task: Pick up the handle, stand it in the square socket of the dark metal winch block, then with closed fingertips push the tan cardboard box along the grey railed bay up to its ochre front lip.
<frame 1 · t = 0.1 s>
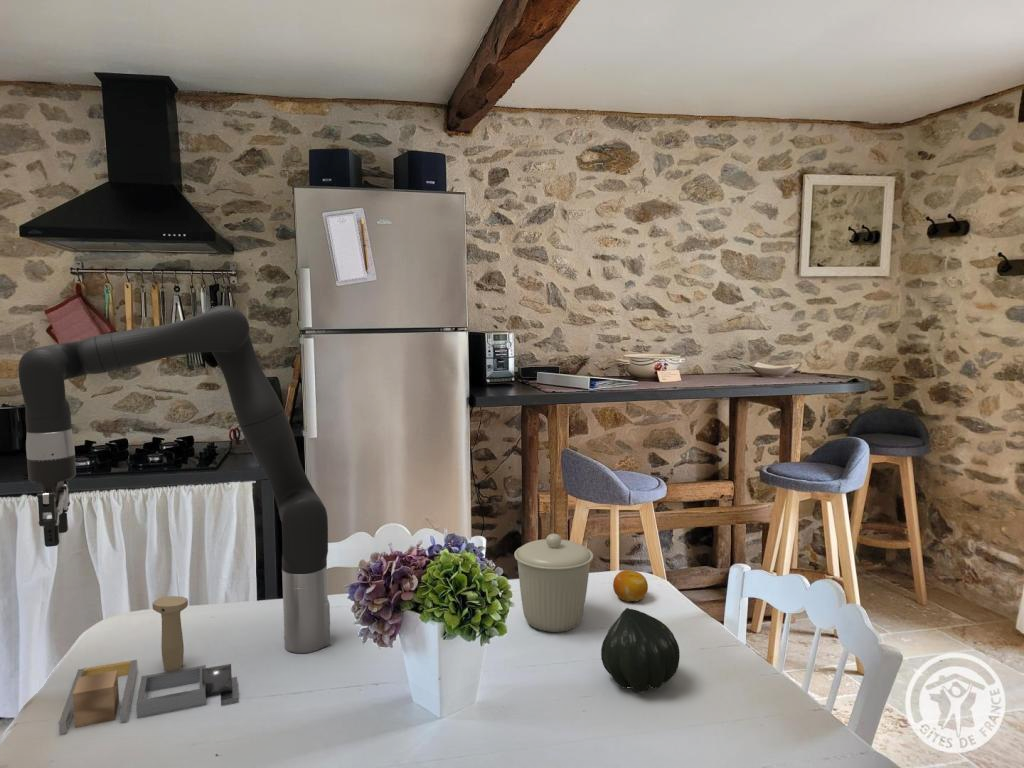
hand: (56, 538, 134), 29 cm above the table, fingers open, 8 cm apart
bay: (102, 706, 130), on the table
canister: (553, 623, 165), on the table
handle: (173, 674, 142), on the table
fruit: (630, 599, 179), on the table
tan cardboard box: (96, 698, 125), point 4 cm above the table, slide at 0.0 cm
winch: (173, 703, 131), on the table
squash: (639, 682, 139), on the table
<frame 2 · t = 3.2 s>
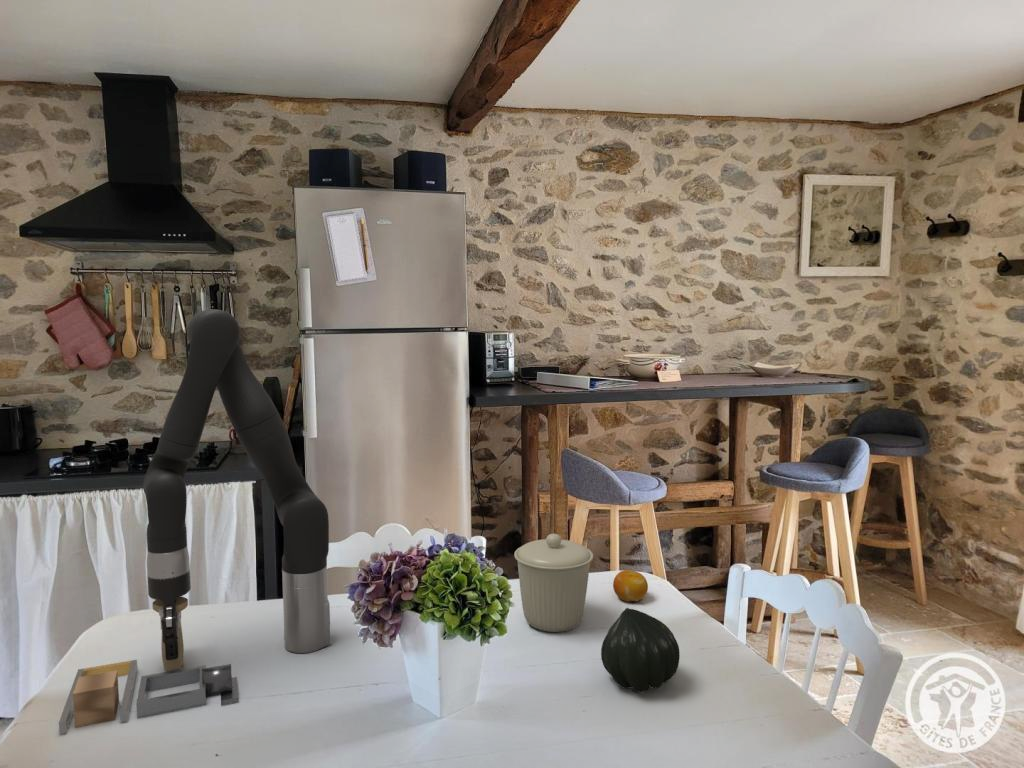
hand: (172, 653, 141), 4 cm above the table, fingers closed on handle, 4 cm apart
handle: (173, 674, 142), on the table, touching gripper
everything else where it was.
when the fingers open (7 cm above the table, at t = 9.0 s): handle drops 2 cm, resting on winch.
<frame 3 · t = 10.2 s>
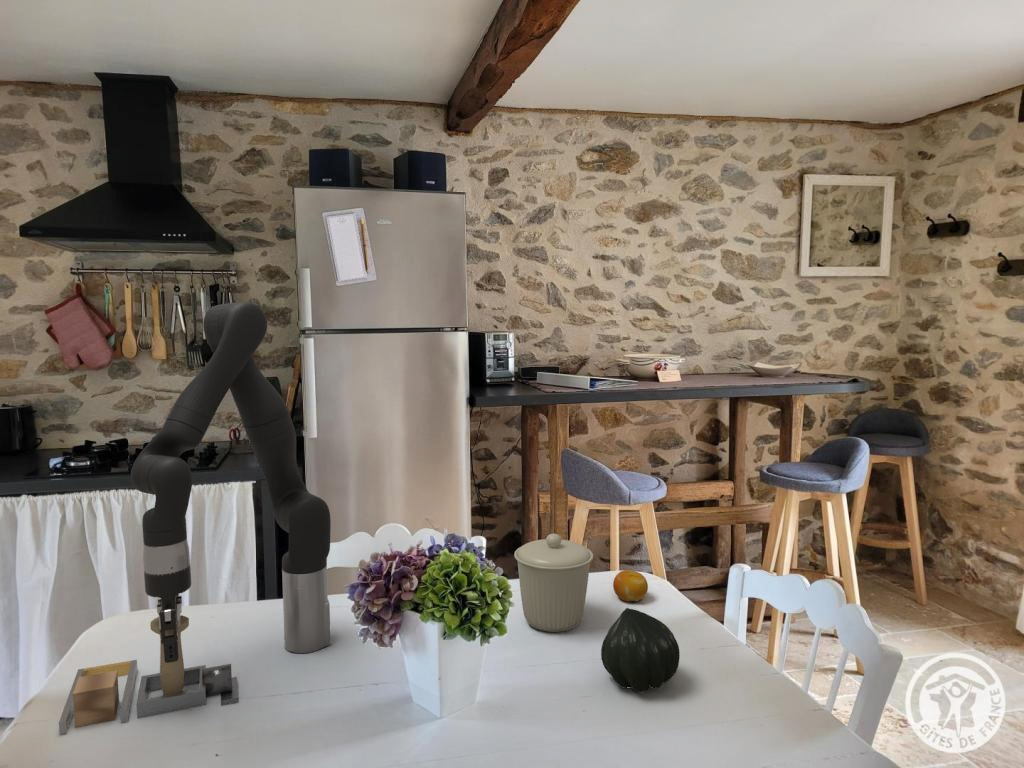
hand: (172, 650, 130), 10 cm above the table, fingers open, 8 cm apart
handle: (173, 699, 131), point 1 cm above the table, touching winch
everything else where it was.
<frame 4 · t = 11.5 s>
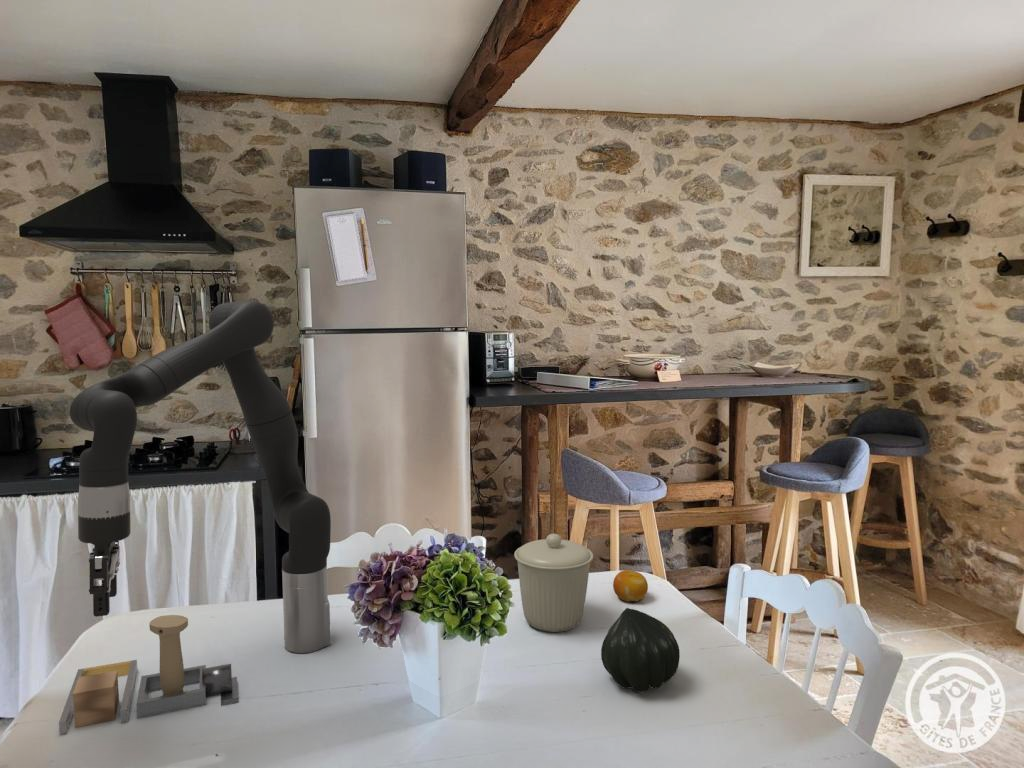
hand: (105, 605, 119), 23 cm above the table, fingers open, 8 cm apart
nothing on the table moved.
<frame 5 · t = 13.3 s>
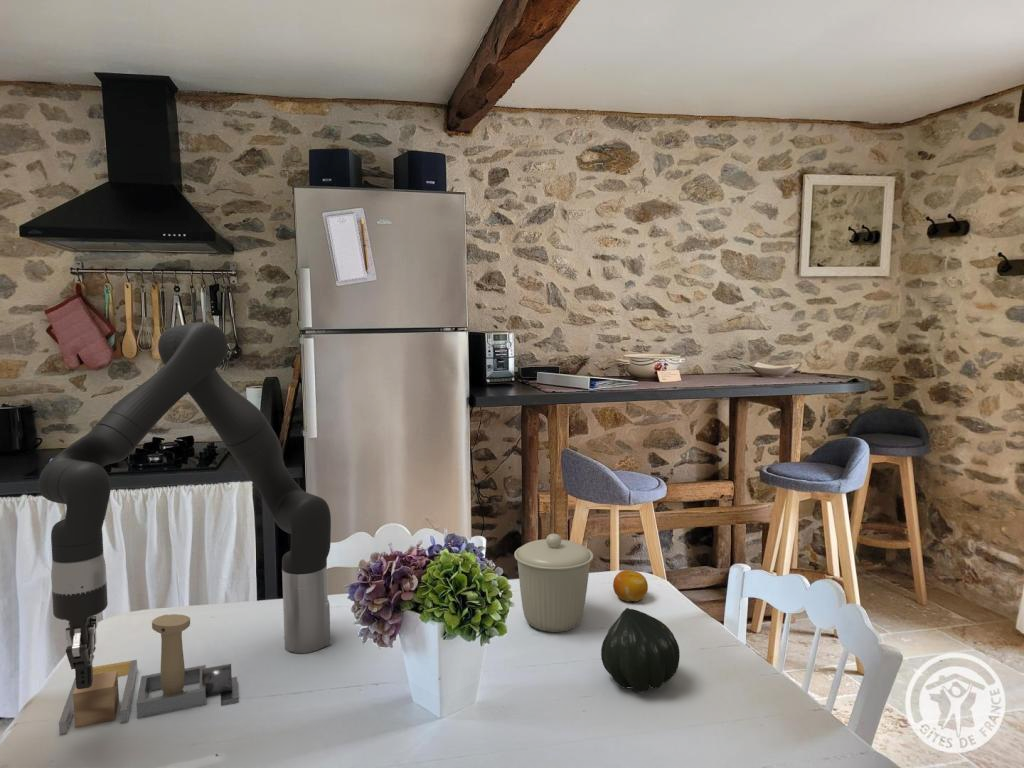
hand: (84, 686, 116), 11 cm above the table, fingers closed
nothing on the table moved.
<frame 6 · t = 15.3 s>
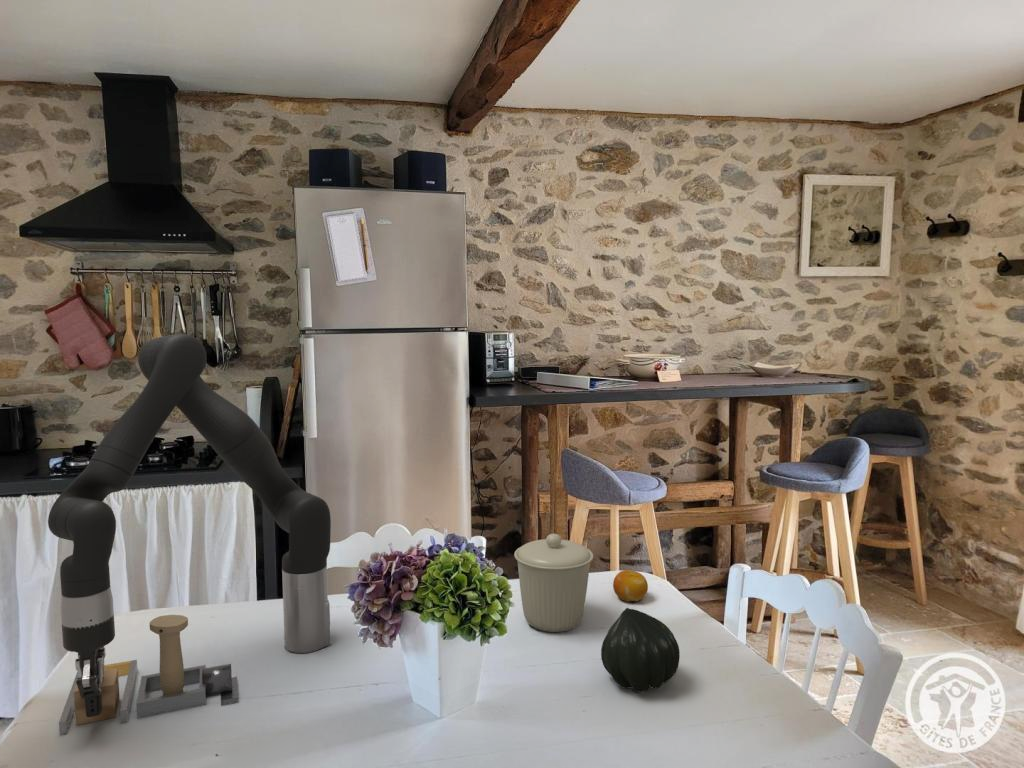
hand: (94, 713, 121), 4 cm above the table, fingers closed
tan cardboard box: (97, 695, 126), point 4 cm above the table, slide at 0.8 cm, touching gripper
everything else where it was.
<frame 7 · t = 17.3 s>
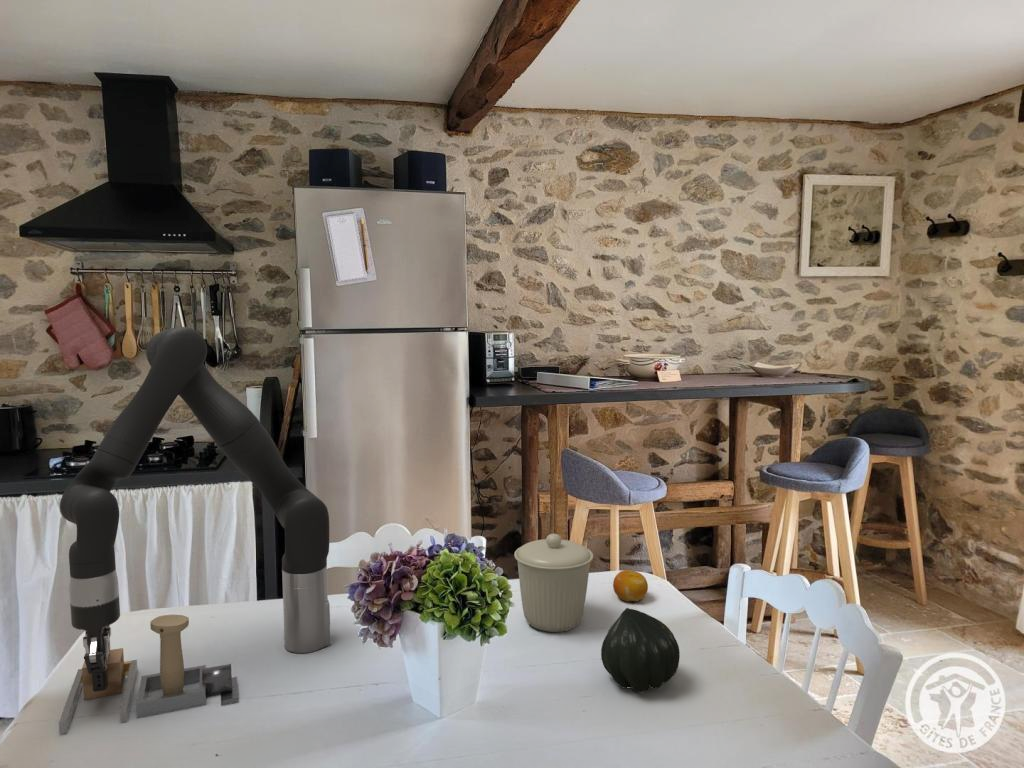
hand: (100, 688, 129), 4 cm above the table, fingers closed
tan cardboard box: (104, 673, 133), point 4 cm above the table, slide at 9.3 cm, touching gripper
everything else where it was.
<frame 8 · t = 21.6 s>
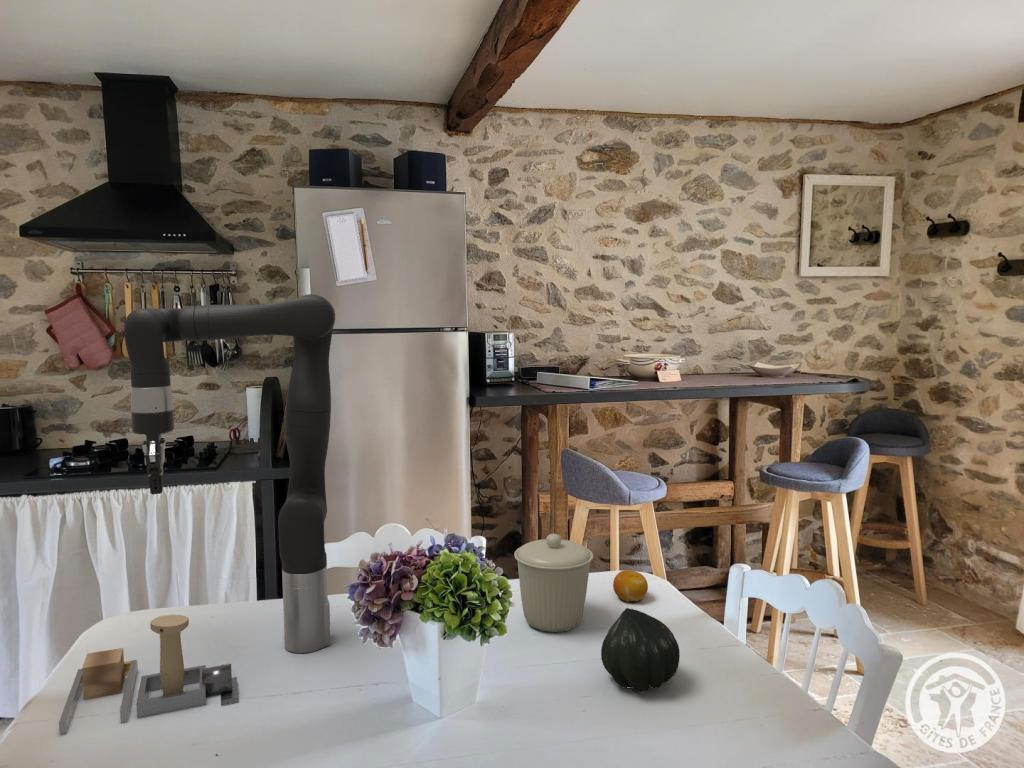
hand: (156, 493, 145), 35 cm above the table, fingers closed
tan cardboard box: (104, 673, 133), point 4 cm above the table, slide at 9.4 cm
everything else where it was.
at the end: handle inside the target area on the winch (0.0 cm from its centre), point 0.8 cm above the winch's base; handle touching winch; tan cardboard box slide at 9.4 cm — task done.
